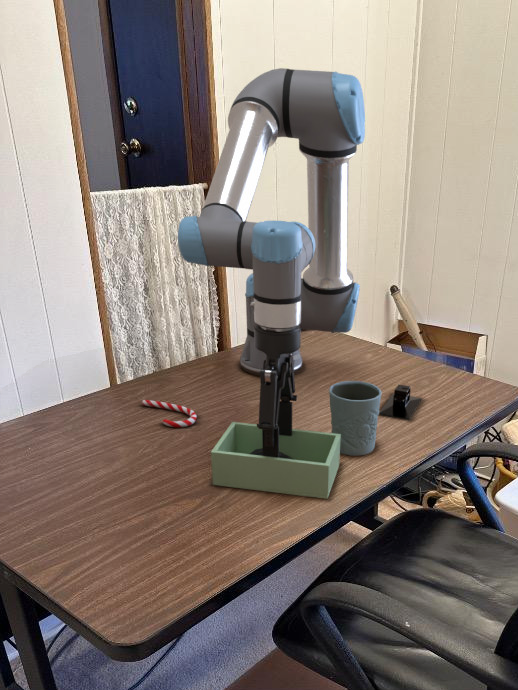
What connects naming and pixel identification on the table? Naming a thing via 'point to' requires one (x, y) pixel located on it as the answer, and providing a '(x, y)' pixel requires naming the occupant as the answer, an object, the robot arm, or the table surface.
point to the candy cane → (175, 408)
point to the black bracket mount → (401, 404)
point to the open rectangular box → (277, 461)
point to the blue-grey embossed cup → (355, 415)
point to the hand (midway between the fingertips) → (278, 446)
